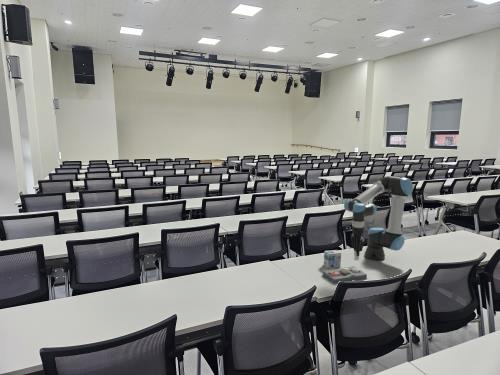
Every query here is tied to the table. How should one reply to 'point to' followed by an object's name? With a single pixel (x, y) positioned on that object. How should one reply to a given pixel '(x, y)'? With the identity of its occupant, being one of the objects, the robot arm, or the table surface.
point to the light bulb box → (332, 258)
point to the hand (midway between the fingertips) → (356, 259)
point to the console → (344, 275)
